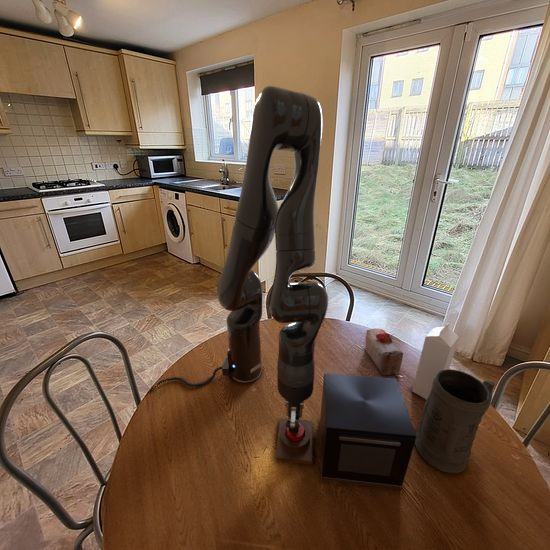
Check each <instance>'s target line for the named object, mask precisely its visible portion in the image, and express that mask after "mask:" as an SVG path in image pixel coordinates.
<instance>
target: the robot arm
mask: <svg viewBox="0 0 550 550" xmlns="http://www.w3.org/2000/svg"><path fill="white" fill-rule="evenodd" d="M251 118H252V119H251V126H250V132H249V139H248V148H247V155H246V161H245V170H244V176H243V180H242V185H241V190H240V195H239V199H238V203H237V207H236V211H235V216H234V219H233V224H232V230H231V236H230V241H229V245H228V249H227V253H226V256H225V261H224V263H223V267H222V269H221V272H220V275H219V278H218V280H217V285H216V296H217V301H218V303H219V305H220V306H221V307H222V308H223V309H224V310H226V311H228V312H230V313H228V315H227V317H226V332H227V342H228V349H227V352H226V354H227V357H225V360H224V362H223V365H222V366H219V367H217V368H215V369H214V371H213V373H212V375H211V376H210V377H209V378H208V379H206V380H205V381H202V382H199V383H190V382H189V381H187V380H185V379H184V378H183V377H180V376H174V377H168V378H164V379H162V380H159V381H158V382H156V383H155V384H157V383H158V384H157V386H155V387H154V388H153V390H155V388H157V387H158V386H159V385H161V384H163V383H165V382H169V381H175V380H176V381H177V380H178V381H181V382H182V383H184V384H185V385H186V386H188V387H192V388H193V387H195V388H196V387H200V386H204V385H206V384H208V383H209V382H211V381H212V380H214V378H215V377H216V374H217V372H218V371H220V370H221V373H222V376H223V377H229V379H233V381H235V382H237V383H240V384H250V383H254V382H256V381H257V380H258V379H259V378H260V377H261V376H262V374H263V368H262V367H263V366H262V349H261V348H262V346H261V344H262V343H261V319H262V316H263V285H262V281H261V279H260V276H259V275H258V273H256V271H254V270H253V268H254V266H255V265H256V264H257V263H258V262H259V260H260V259H261V258H262V257H263V256H264V254H266V252H267V250H268V249H269V248H270V246H271V244H272V242H273V240H274V239H275V271H274V276H273V281H272V286H271V289H270V293H269V299H268V310H269V314H270V316H271V317H272V318H273V320H274V321H275V322H277V323H279V324H286V325H284V326H283V327H282V328H281V329H280V330H279V334H278V357H277V363H276V364H277V368H276V369H277V378H276V379H277V380H276V381H277V382H276V383H277V385H276V386H277V392H278V394H279V396H281V397H282V398H283V399H284V407H285V416H286V417H287V418H286V419H287V423H286V425H287V427H288V428H289V432H292V433H298V431H299V427H300V424H299V421H300V420H301V418H302V417H303V410H304V408H305V401H307V400H309V398H310V397H311V396H312V394H313V392H314V384H315V371H316V361H315V351H316V350H315V349H316V340H317V337H318V335H319V331H320V330H321V326H323V323H324V320H325V319H326V315H327V313H328V308H329V295H328V292H327V290H326V288H325V287H324V286H323V284H321V283H320V282H317V281H302V282H289V281H290V279H291V277H292V275H293V274H296V272H299V271H303V270H307V269H310V268H312V267H314V266H315V264H316V261H317V260H316V259H317V256H316V255H317V254H316V235H315V234H316V231H315V203H316V192H317V184H318V182H317V181H318V174H319V167H320V154H321V146H322V133H323V113H322V107H321V104H320V102H319V101H318V99H317V98H316V97H315V96H312V95H310V94H307V93H303V92H299V91H296V90H292V89H287V88H283V87H280V86H276V85H267V86H264V87H263V88H262V89H261V91H260V92H259V94H258V96H257V98H256V102H255V105H254V109H253V113H252V117H251ZM275 150H278V151H284V152H290V153H291V152H292V153H293V156H294V157H293V158H294V171H293V177H292V180H291V182H290V184H289V187H288V190H287V191H286V194H285V195H284V197H283V198H282V199H283V200H282V202H281V203H280V205H279V203H278V200H277V197H276V194H275V192H274V188H273V186H272V182H271V181H272V180H271V175H270V172H271V170H270V169H271V163H272V157H273V153H274V151H275ZM274 237H275V238H274ZM170 378H171V379H170ZM166 380H167V381H166ZM164 381H165V382H164ZM162 382H163V383H162ZM160 383H161V384H160ZM150 389H151V388H150ZM150 389H149V390H150ZM151 390H152V389H151ZM151 390H150V391H149V392H152V391H153V390H152V391H151Z"/></svg>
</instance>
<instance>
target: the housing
mask: <svg viewBox="0 0 550 550" xmlns="http://www.w3.org/2000/svg"><path fill="white" fill-rule="evenodd" d="M286 423H287V418H282V417H280V418H279V426H278V433H277V442H276V450H275V461H277V462H285V463H296V464H304V465H313V421H312V420H305V419H304V420H303V419H300V421H299V423H300V424H301V425H302V426H303V428H304V437H303V439H302V440H301V441H299V442H292V441H290V440H289V439H288V438H287V425H286Z"/></svg>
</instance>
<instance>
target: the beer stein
mask: <svg viewBox="0 0 550 550" xmlns="http://www.w3.org/2000/svg"><path fill="white" fill-rule="evenodd" d="M495 386H496V383H495V382H494V380H493V381H492V380H489V379H486V380H484V381H483V382H482V381H481V380H480V379H479V378H476V377H475V376H473V375H472V374H469V373H467V372H465V371H461V370H457V369H449V370H448V369H447V370H442V371H440V372H438V374H437V375H436V377H435V378H434V379H433V383H432V388H431V392H430V395H429V396H428V397H427V400H426V399H425V402H424V406H423V410H422V413H421V416H420V419H419V423H418V428H417V432H415V433H416V440H415V443H414V446H415V448H416V450H417V452H418V454H419V455H420V457H421V458H422V459H423V460H424V461H425V462H427V463H428V464H429V465H431V466H432V467H434V468H435V469H436V470H439V471H440V472H444V473H448V474H458V473H461V472H463V471H464V470H466V468H467V466H468V464H469V459H470V458H471V454H472V448H473V444H474V440H475V439H476V434H477V431H478V428H479V426H480V423H481V421H482V419H483V416H484V415H485V413H486V412H487V411H488V410H489V408H490V405H491V403H492V399H493V392H494V388H495Z"/></svg>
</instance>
